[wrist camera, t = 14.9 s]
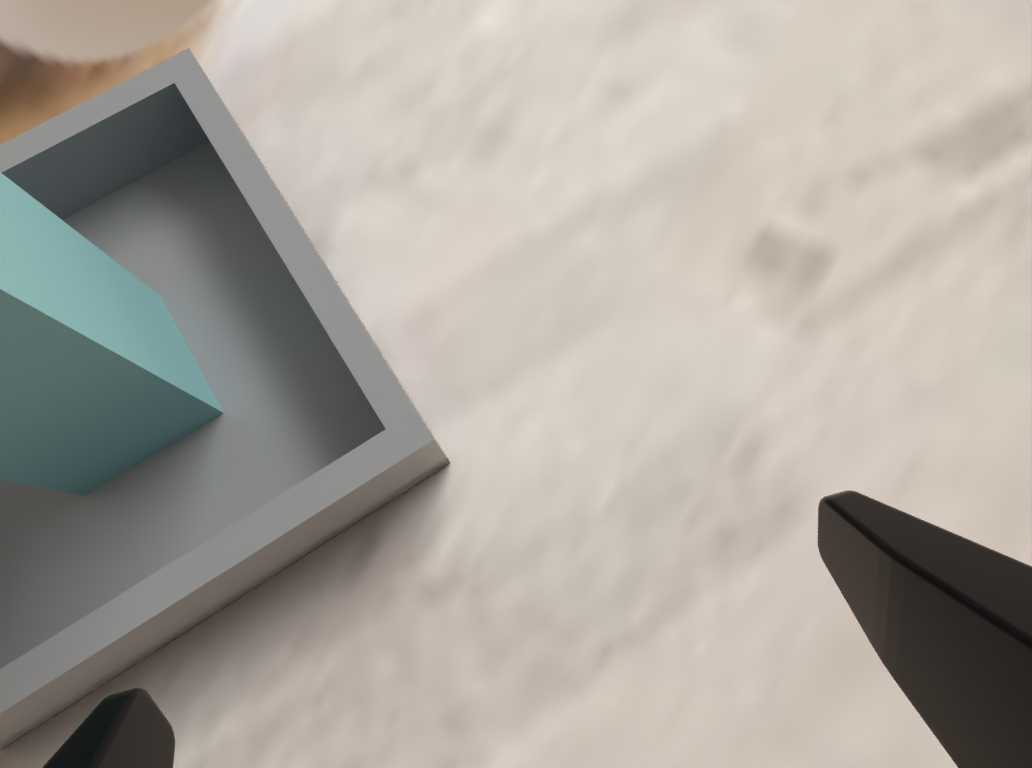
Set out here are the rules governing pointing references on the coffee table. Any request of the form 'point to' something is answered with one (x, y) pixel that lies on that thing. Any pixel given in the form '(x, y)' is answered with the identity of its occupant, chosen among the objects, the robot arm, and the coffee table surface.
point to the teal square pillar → (83, 358)
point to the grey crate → (231, 377)
